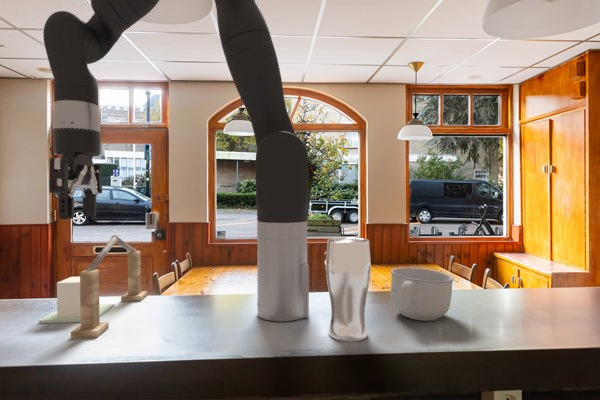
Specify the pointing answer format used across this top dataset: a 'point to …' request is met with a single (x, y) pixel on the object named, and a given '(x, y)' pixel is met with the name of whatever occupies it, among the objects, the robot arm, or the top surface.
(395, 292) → the teacup
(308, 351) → the top surface
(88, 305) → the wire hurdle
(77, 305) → the cream block
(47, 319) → the mat
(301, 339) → the top surface
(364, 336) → the beer glass
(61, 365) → the top surface
